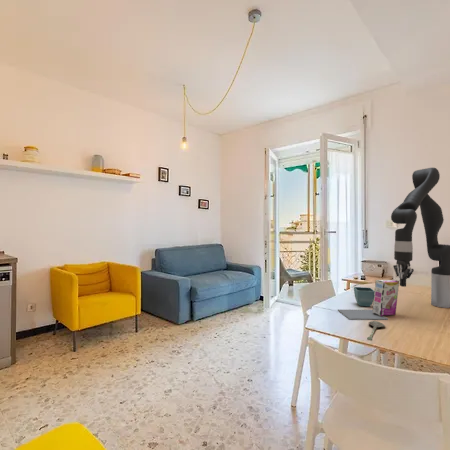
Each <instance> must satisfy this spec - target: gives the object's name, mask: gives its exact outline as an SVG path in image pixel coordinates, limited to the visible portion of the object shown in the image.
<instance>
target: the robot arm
mask: <svg viewBox="0 0 450 450" xmlns="http://www.w3.org/2000/svg"><path fill="white" fill-rule="evenodd" d="M440 175H441V174H440V171H439V169H437V168H436V167H427V168H422V169H417V170H414V171H413V173H412V175H411V177H412V184H413V187H414V189H413V190H411V191H410V192H409V193H408V194H407V195H406V197H405V198H404V199H403V201H402V202H401V203H400V204H399V205H398V206H397V207H395V208H394V209H393V211H392V212H391V216H390V219H391V221H392V223H394V224H396V225H397V224H398V225H402V224H404V227H402V228H397V229H396V230H395V232H394V246H393V247H394V248H393V249H394V253H393V254H394V255H393V258H394V260H395V261H396V262H395V264H394V265H393V267H392V268H393V269H394V272H395V274H396V277H398V278H399V286H400V287H404V288H405V287H407V279H410V277H411V276H412V275H413V273H414V268H412V267H411V261H413V253H414V252H413V231H414V227H415V225H416V221H417V218H418V214H417V212H416V211H417V210H418V208H419V207H420V208H419V209H420V215H421V219H422V223H423V227H424V234H425V239H426V240H425V241H426V250H427V251H426V252H427V255H428V258H429V259H430V260H431V261H434V262H435V261H437V262H440V265H439V266H435V267H432V268H431V278H430V279H431V281H430V282H431V283H430V284H431V285H430V286H431V287H430V290H431V291H430V293H431V294H430V304H431V305H432V306H434V307H436V308H437V307H438V308H445V309H446V308H447V309H450V244H442V243H441V244H440V243H439V239H438V235H439V232H440V230H441V228H442V227H443V223H444V220H445V219H444V214H443V209H442V208H441V206H440V205H439V204H438V203H437V202H436V201H435V200H434V199H433V198H432V197H431V196H430V195H429V193H430V192H431V191H432V190H433V188H435V186H436V185H437V184H438V183H439V181H440V178H441V177H440Z"/></svg>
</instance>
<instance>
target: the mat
mask: <svg viewBox="0 0 450 450" xmlns="http://www.w3.org/2000/svg"><path fill="white" fill-rule="evenodd" d="M337 311H338V313H340V314H341V315H343V316H344V317H345V318H346V319H347V320H349V321H389V318H388V317H386V316H379V315H376V314H373V313H372V311H373V309H337Z"/></svg>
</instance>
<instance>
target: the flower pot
mask: <svg viewBox="0 0 450 450" xmlns="http://www.w3.org/2000/svg"><path fill="white" fill-rule="evenodd" d="M353 291H354V292H353V293H354V298H355V301H356V303H357V305H359V307H371V306H372V305H373V301H374V292H375V289H373V288H372V287H361V286H353Z"/></svg>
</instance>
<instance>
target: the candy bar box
mask: <svg viewBox="0 0 450 450" xmlns="http://www.w3.org/2000/svg"><path fill="white" fill-rule="evenodd" d="M374 283H375V285H374V291H375V292H374V300H373V303H372V310H373V311H372V313H373V314H376V315H379V316H384V317H386V316H395V315H396V314H397V304H398V296H399V286H400V281H396V280H392V279H375V281H374Z"/></svg>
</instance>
